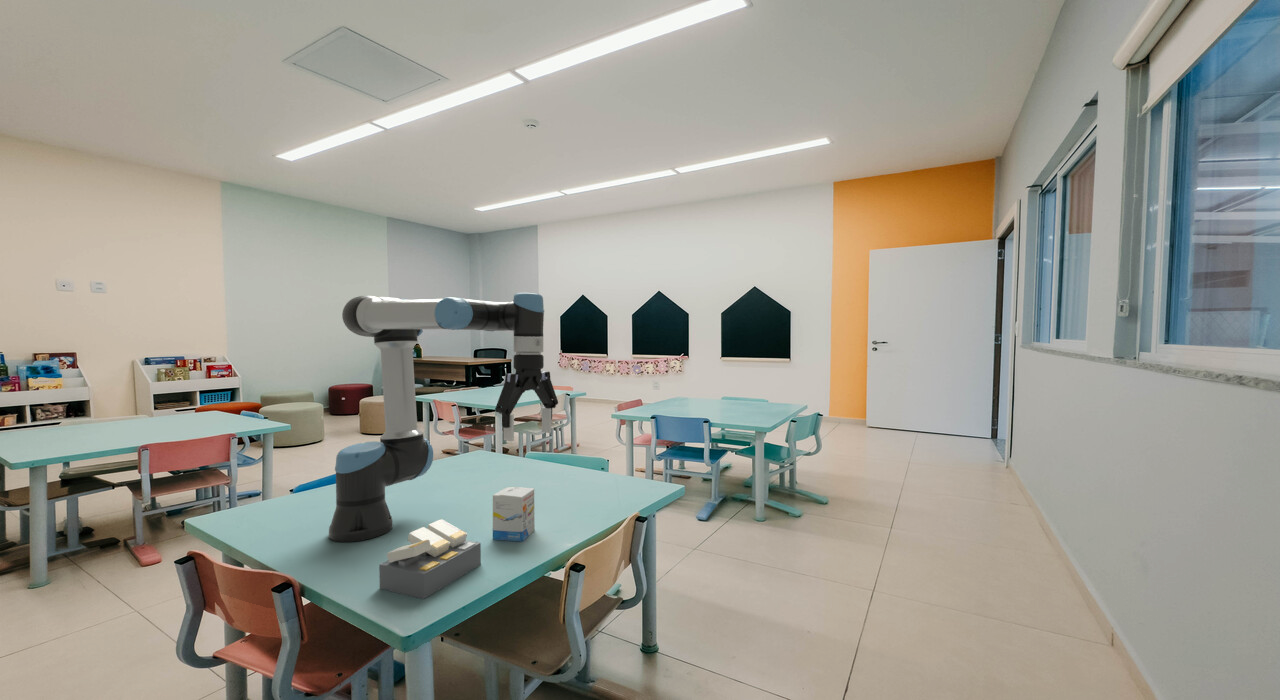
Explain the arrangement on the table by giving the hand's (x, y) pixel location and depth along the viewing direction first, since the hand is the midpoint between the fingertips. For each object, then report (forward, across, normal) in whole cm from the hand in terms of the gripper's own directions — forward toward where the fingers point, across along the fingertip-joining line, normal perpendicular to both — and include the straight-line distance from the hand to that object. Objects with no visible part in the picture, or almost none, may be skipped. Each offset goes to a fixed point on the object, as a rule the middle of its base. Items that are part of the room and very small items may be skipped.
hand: (528, 436), depth 131 cm
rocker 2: (+20, -26, +5) cm, 33 cm away
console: (+27, -26, +4) cm, 37 cm away
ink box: (+27, +1, +6) cm, 28 cm away
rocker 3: (+20, -20, +6) cm, 29 cm away
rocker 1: (+20, -31, +4) cm, 37 cm away
